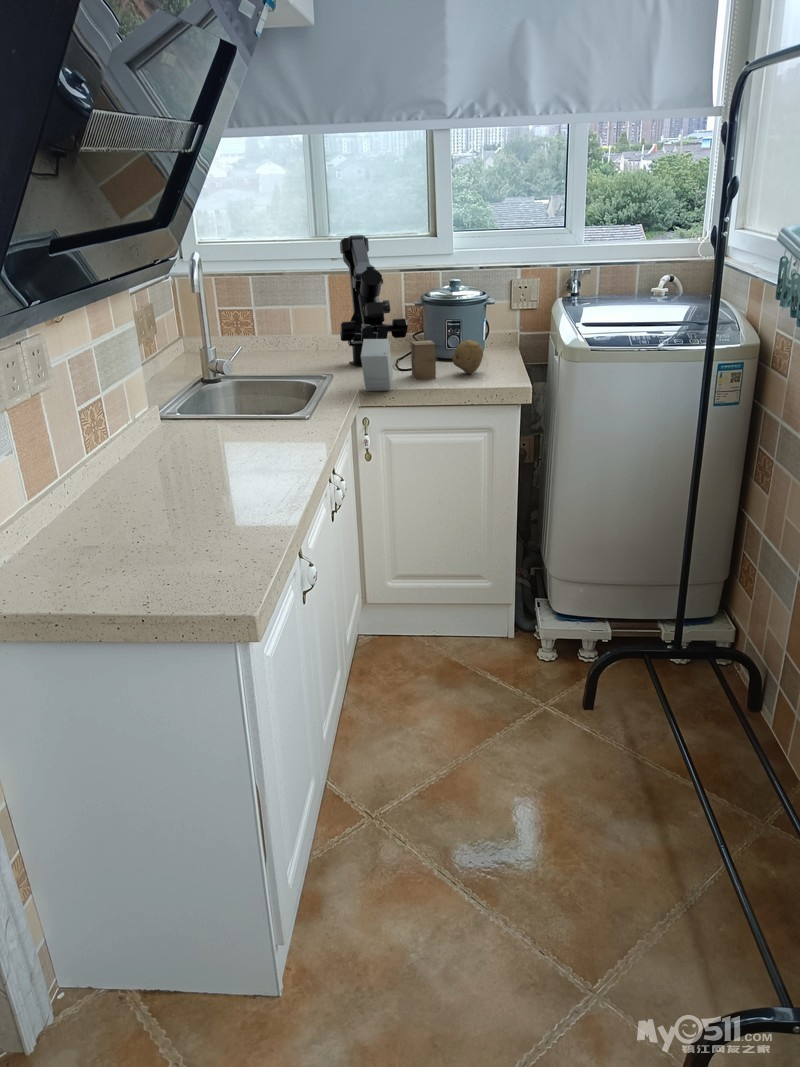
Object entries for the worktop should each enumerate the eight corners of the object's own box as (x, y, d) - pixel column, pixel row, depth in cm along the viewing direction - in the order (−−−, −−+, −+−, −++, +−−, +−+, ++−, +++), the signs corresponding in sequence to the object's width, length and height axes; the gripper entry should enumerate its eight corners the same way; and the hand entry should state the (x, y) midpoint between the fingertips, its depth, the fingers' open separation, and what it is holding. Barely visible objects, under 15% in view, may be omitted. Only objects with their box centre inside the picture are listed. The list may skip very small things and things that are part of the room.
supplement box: (393, 373, 237) (390, 338, 227) (390, 391, 232) (387, 356, 222) (367, 372, 237) (363, 337, 227) (364, 391, 233) (360, 356, 223)
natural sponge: (451, 377, 246) (451, 343, 242) (453, 370, 254) (453, 337, 250) (482, 377, 245) (483, 343, 241) (483, 370, 253) (483, 337, 249)
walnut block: (411, 375, 250) (411, 341, 246) (431, 373, 251) (430, 340, 247) (415, 379, 245) (415, 345, 241) (435, 378, 246) (435, 344, 242)
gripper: (339, 292, 229) (346, 339, 223) (405, 288, 232) (414, 335, 226) (337, 317, 239) (344, 363, 233) (401, 313, 242) (409, 359, 236)
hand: (377, 354), depth 232 cm, fingers closed
